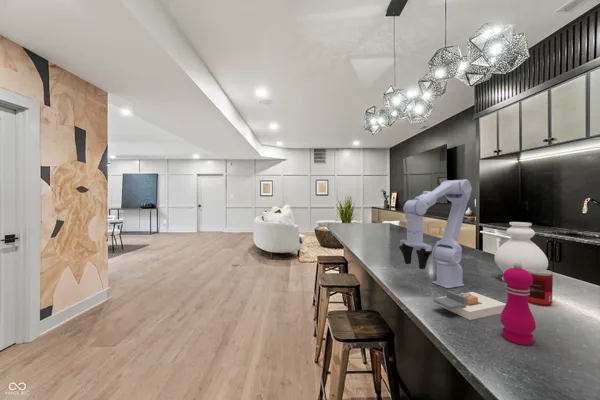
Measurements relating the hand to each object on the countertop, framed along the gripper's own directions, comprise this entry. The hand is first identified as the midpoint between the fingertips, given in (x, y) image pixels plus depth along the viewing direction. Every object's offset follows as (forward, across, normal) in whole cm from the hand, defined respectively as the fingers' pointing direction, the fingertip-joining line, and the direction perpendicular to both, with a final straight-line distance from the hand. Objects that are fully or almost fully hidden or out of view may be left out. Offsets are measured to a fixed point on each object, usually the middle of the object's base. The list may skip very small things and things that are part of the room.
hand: (414, 266), depth 107 cm
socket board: (+10, +19, +6) cm, 22 cm away
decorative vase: (+10, +6, +50) cm, 51 cm away
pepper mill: (+10, +37, 0) cm, 38 cm away
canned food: (+10, +23, +32) cm, 41 cm away
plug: (+10, +19, +4) cm, 22 cm away
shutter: (+7, +19, -3) cm, 21 cm away
